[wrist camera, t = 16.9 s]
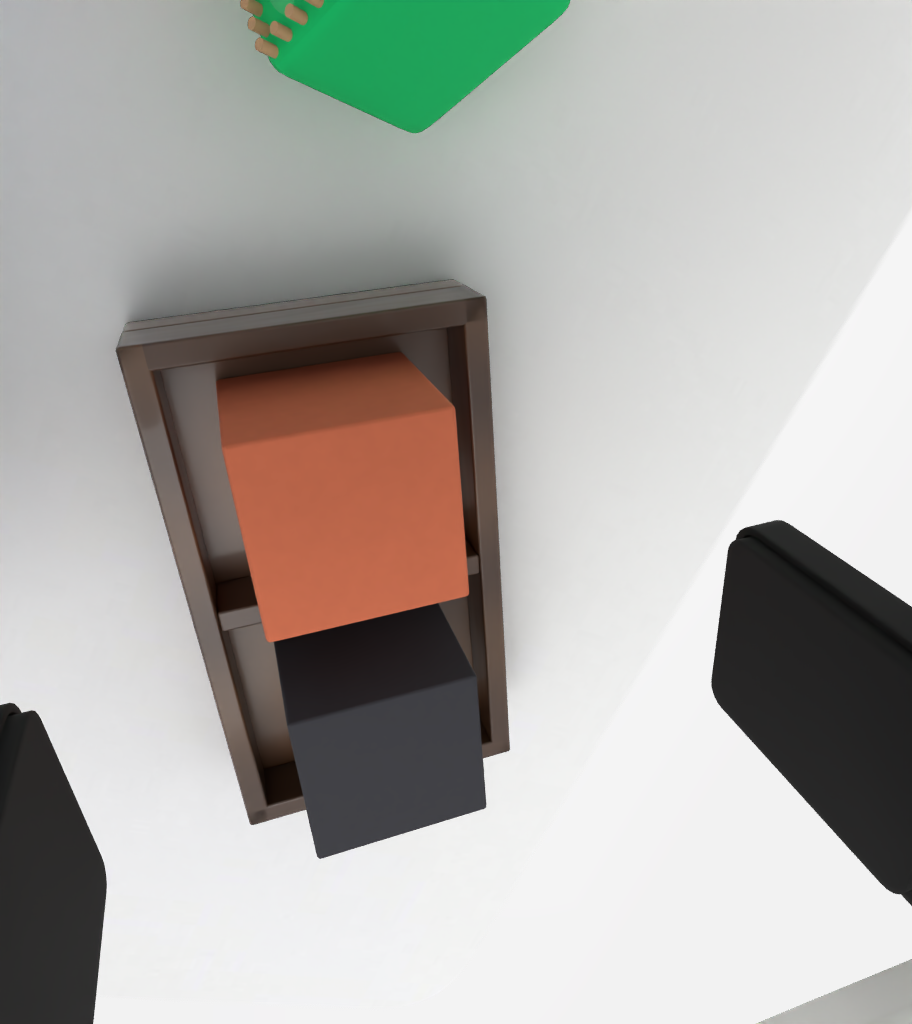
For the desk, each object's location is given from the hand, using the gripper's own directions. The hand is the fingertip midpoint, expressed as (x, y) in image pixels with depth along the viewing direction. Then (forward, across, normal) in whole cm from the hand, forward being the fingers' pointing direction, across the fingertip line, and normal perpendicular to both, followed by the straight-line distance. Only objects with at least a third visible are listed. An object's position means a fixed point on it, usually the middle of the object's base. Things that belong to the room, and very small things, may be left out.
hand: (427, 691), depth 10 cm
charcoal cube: (+10, 0, +7) cm, 13 cm away
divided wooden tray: (+11, 0, +4) cm, 12 cm away
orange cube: (+10, 0, +1) cm, 10 cm away
